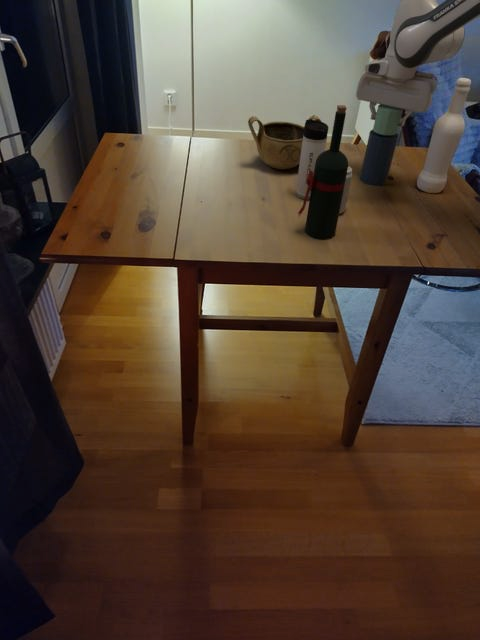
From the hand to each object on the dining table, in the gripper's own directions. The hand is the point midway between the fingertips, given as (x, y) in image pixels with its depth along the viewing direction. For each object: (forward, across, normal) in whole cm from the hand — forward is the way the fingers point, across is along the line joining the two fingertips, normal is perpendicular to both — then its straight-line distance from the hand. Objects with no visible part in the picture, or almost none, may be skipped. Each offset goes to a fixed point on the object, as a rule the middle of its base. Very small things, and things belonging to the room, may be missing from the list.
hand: (386, 122), depth 130 cm
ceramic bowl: (+17, +28, +8) cm, 34 cm away
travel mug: (+17, +12, +22) cm, 30 cm away
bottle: (+17, -16, -5) cm, 24 cm away
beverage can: (+17, +2, +26) cm, 31 cm away
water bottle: (+17, 0, 0) cm, 17 cm away
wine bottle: (+17, +1, +39) cm, 43 cm away
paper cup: (+2, 0, 0) cm, 2 cm away
